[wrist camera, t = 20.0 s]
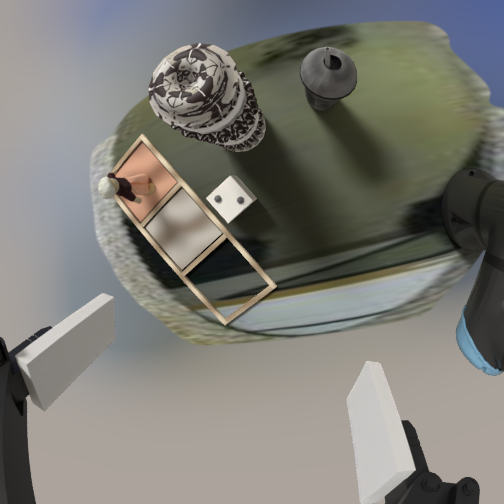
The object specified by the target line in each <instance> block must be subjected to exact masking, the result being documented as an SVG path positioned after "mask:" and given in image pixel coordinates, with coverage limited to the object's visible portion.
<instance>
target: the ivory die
mask: <svg viewBox="0 0 504 504" xmlns="http://www.w3.org/2000/svg"><path fill="white" fill-rule="evenodd" d="M206 199H207V200H208V201H209V202H210V203H211V204H212V206H213V207H214V208H215V209H216V210H217V211H218V212H219V213H220V215H221V216H222V217H223V218H224V219H225V220H226V221H227V223H229V222H230V221H232V220H233V219H235V218H236V217H237V216H238V215H239V214H240V213H241V212H243V211H244V210H245V209H246V208H247V207H248V206H249V205H251V204H252V203H253V202H254V201H255V200H256V199H257V198H256V197H255V195H254V194H253V193H252V192H251V191H250V190H249V189H248V188H247V186H246V185H245V184H244V183H243V182H242V181H241V180H240V179H239V178H238V176H229V177H228V178H227V179H226V180H225V181H224V182H223V183H222V184H221V185H220V186H219V187H218V188H216V189H215V190H214V191H213V192H212V193H211V194H210V195H209V196H208V197H207V198H206Z"/></svg>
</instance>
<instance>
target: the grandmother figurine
mask: <svg viewBox="0 0 504 504" xmlns="http://www.w3.org/2000/svg"><path fill="white" fill-rule="evenodd" d="M116 174H117V172H116V171H115V170H113V171H112V172H111V173H109V174H108V177H104V178H102V180H101V181H100V183H99V187H98V189H99V194H100V195H101V197H102V198H106V199H110V198H112V197H114V196H115V194H117V195H118V196H122V197H124V198H125V199H127V200H129V201H131V202H135V203H138V204H140V203H141V202H142V199H141V198H140V197H137V196H135V195H145V196H149V195H151V194H152V193H154V192H155V190H156V187H155V185H154V184H153V183H149V184H148V180H149V179H148V176H147V175H146V174H139V175H135V176H131V177H127V178H118V177H116Z"/></svg>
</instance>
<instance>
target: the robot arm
mask: <svg viewBox="0 0 504 504" xmlns="http://www.w3.org/2000/svg"><path fill="white" fill-rule="evenodd" d="M442 217H443V223H444V226H445V229H446V231H447V233H448V235H449V237H450V238H451V239H452V241H453V242H454V243H456V244H457V245H458V246H460V247H462V248H464V249H467V250H470V251H481V250H486V252H485V255H484V258H483V261H482V264H481V267H480V270H479V273H478V276H477V279H476V281H475V284H474V286H473V289H472V291H471V294H470V296H469V299H468V301H467V304H466V305H465V306H464V308H463V311H462V316H461V318H460V321H459V323H458V325H457V328H456V340H457V343H458V346H459V348H460V350H461V351H462V353H463V354H464V356H465V357H466V358H467V359H468V360H469V362H470V363H472V364H473V365H474V366H475V367H476V368H478V369H482V370H483V372H484V373H486V374H488V375H494V376H496V375H499V374H501V373H502V372H504V181H503V180H498V179H496V178H495V177H493V176H492V175H490V174H489V173H487V172H486V171H484V170H481V169H476V168H467V169H463V170H461V171H459V172H457V173H456V174H455V175H454V176H453V177H452V178H451V179H450V181H449V183H448V184H447V187H446V189H445V192H444V195H443V201H442ZM115 340H116V336H115V317H114V297H112V296H109V295H107V294H104V293H102V294H101V295H99V296H98V297H96V298H95V299H93V300H92V301H90V302H89V303H88V304H86V305H84V306H83V307H82V308H80V309H79V310H77V311H76V312H75V313H73V314H71V315H70V316H69V317H67V318H66V319H64V320H63V321H62V322H60V323H59V324H57V325H56V326H55V327H51V326H49V327H46V328H43V329H41V330H39V331H38V332H36V333H35V334H34V336H31V337H30V338H28V340H25V341H24V342H22V343H21V344H20V345H18V346H17V347H16V348H14V349H13V350H12V351H10V352H9V353H8V351H7V348H6V344H5V341H4V340H3V338H1V337H0V504H36V502H35V497H34V491H33V486H32V479H31V472H30V464H29V453H28V438H27V400H26V397H27V396H28V395H30V397H31V399H32V402H33V403H34V404H35V405H37V406H38V407H39V408H41V409H42V410H43V411H46V409H47V408H48V407H49V406H50V405H51V404H52V403H53V402H54V401H55V400H56V399H57V398H58V397H59V396H60V395H61V394H62V393H63V392H64V391H65V390H66V389H67V388H68V387H69V386H70V385H71V383H73V381H75V380H76V378H77V377H78V376H79V375H80V374H81V373H82V372H83V371H84V370H85V369H86V368H87V367H88V366H89V365H90V364H91V363H92V362H93V361H94V360H95V359H96V358H97V357H98V356H99V355H100V354H101V353H102V352H103V351H104V350H105V349H106V348H107V347H108V346H109V345H111V344H112V343H113V341H115ZM346 401H347V406H348V412H349V419H350V424H351V432H352V438H353V446H354V453H355V460H356V468H357V478H358V486H359V497H360V504H369V503H377V502H379V501H380V500H381V499H382V498H384V497H385V502H386V503H385V504H479V494H480V489H479V485H478V483H477V481H476V480H475V479H473V478H471V477H465V478H463V479H461V480H460V481H459V482H458V483H456V484H454V483H446V482H442V480H441V479H440V477H439V476H438V475H436V474H435V473H432V472H429V470H428V466H427V463H426V460H425V457H424V454H423V451H422V448H421V446H420V442H419V439H418V436H417V433H416V430H415V428H414V427H413V426H412V424H411V423H410V422H409V421H408V420H405V421H403V420H401V419H400V417H399V414H398V411H397V408H396V405H395V402H394V399H393V396H392V394H391V391H390V388H389V385H388V383H387V380H386V377H385V375H384V372H383V369H382V367H381V364H380V363H378V362H370V361H367V362H366V363H365V365H364V367H363V370H362V371H361V374H360V375H359V377H358V379H357V381H356V383H355V385H354V387H353V388H352V390H351V392H350V394H349V396H348V397H347V399H346Z"/></svg>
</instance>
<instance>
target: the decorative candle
mask: <svg viewBox="0 0 504 504" xmlns="http://www.w3.org/2000/svg"><path fill="white" fill-rule="evenodd" d="M251 86H252V85H251V83H250V82H249V81H248V80H247V79H246V78H245V75H244V73H243V72H240V71H237V68H236V64H235V63H234V61H233V60H232V58H231V57H230V55H229V54H228V53H227V52H226V51H224V50H222V49H220V48H218V47H216V46H215V45H210V44H198V43H196V44H192V45H188V46H185V47H181V48H179V49H177V50H176V51H174V52H173V53H171V54H170V55H168V56H167V57H165V58H164V59H163V61H162V62H161V63H160V64H159V66H158V67H157V68H156V70H155V71H154V73H153V76H152V79H151V82H150V85H149V101H150V104H151V106H152V108H153V110H154V111H155V113H156V115H157V116H158V117H160V118H161V119H162V120H164V121H165V122H167V123H168V124H171V127H172V128H173V129H175V130H181V133H182V135H183V136H184V137H189V138H193V137H195V138H196V139H197V140H200V141H207V142H209V143H214V144H216V145H218V146H221V147H222V148H225V149H228V150H231V151H236V152H242V151H248V150H250V149H252V148H254V147H255V146H257V145H258V144H259V143H260V141H261V140H262V139H263V137H264V134H265V130H266V124H265V117H264V115H263V114H262V112H261V109H260V108H259V107H258V105H257V99H256V98H255V94H254V89H253V88H252V87H251Z"/></svg>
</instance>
